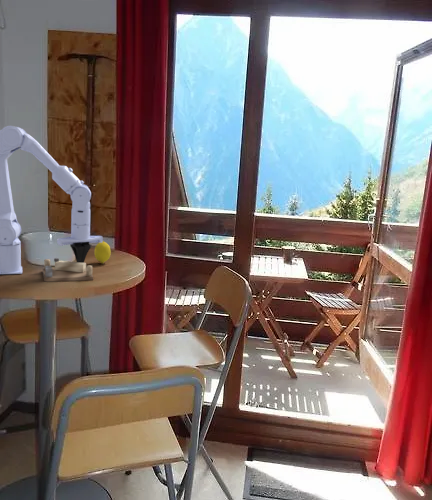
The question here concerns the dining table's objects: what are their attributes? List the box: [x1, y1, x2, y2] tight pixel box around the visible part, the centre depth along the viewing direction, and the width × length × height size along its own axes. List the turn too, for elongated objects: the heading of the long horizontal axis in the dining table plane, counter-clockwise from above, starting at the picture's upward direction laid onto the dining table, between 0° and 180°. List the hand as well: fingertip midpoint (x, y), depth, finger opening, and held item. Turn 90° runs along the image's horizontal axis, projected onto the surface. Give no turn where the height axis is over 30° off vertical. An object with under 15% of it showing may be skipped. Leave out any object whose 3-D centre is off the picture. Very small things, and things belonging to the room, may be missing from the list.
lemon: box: [93, 240, 112, 264], centre depth 169 cm, size 6×6×8 cm
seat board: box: [42, 258, 94, 283], centre depth 151 cm, size 14×12×4 cm
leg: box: [53, 257, 87, 272], centre depth 153 cm, size 10×2×3 cm, turn 86°
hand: (80, 265), depth 155 cm, fingers closed
